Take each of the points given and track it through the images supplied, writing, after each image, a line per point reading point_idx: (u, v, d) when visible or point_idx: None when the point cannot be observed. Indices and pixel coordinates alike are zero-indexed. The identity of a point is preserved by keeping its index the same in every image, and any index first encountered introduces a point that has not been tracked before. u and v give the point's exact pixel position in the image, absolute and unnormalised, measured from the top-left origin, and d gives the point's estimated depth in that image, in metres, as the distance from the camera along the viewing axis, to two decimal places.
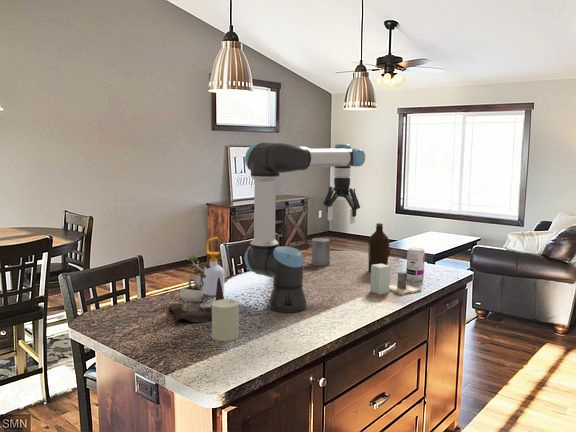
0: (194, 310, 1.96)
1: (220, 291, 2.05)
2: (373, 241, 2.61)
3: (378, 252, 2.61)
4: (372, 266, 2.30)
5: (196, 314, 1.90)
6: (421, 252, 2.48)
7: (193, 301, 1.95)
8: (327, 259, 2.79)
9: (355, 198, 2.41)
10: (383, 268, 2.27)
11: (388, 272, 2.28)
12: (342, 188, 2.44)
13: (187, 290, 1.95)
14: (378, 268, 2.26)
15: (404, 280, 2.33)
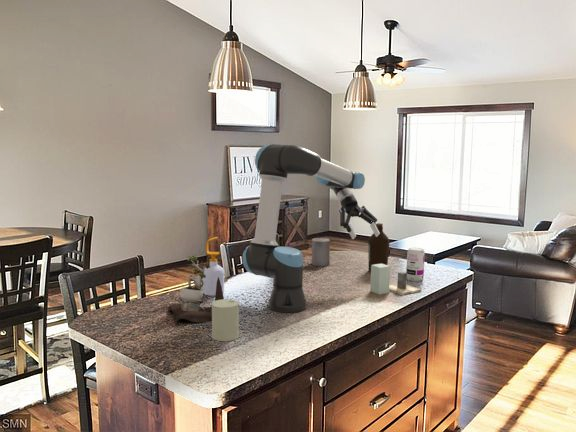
0: (194, 310, 1.96)
1: (220, 291, 2.05)
2: (373, 241, 2.61)
3: (378, 252, 2.61)
4: (372, 266, 2.30)
5: (196, 314, 1.90)
6: (421, 252, 2.48)
7: (193, 301, 1.95)
8: (327, 259, 2.79)
9: None
10: (383, 268, 2.27)
11: (388, 272, 2.28)
12: (355, 207, 2.45)
13: (187, 290, 1.95)
14: (378, 268, 2.26)
15: (404, 280, 2.33)
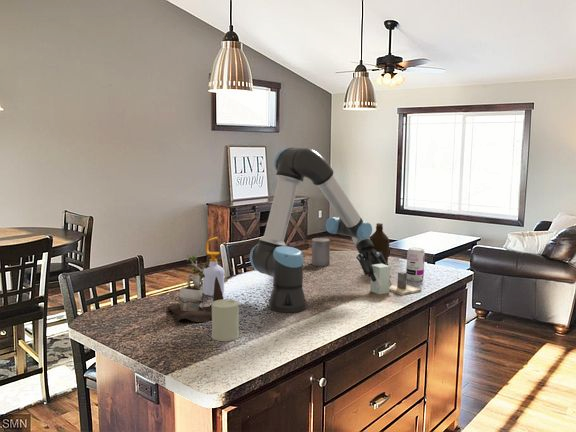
0: (194, 310, 1.97)
1: (218, 290, 2.05)
2: (373, 241, 2.61)
3: None
4: (372, 266, 2.30)
5: (197, 314, 1.90)
6: (421, 252, 2.48)
7: (193, 301, 1.95)
8: (327, 259, 2.79)
9: None
10: (383, 268, 2.27)
11: (388, 272, 2.28)
12: (371, 249, 2.37)
13: (187, 290, 1.95)
14: (378, 268, 2.26)
15: (404, 280, 2.33)
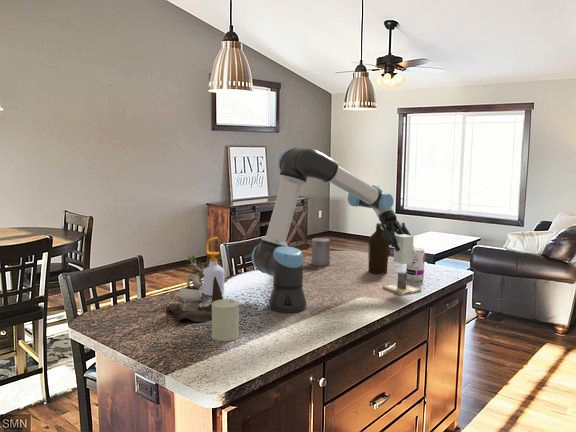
0: (194, 310, 1.97)
1: (217, 290, 2.06)
2: (373, 241, 2.61)
3: (378, 252, 2.61)
4: (395, 236, 2.32)
5: (197, 313, 1.91)
6: (421, 252, 2.48)
7: (193, 301, 1.95)
8: (327, 259, 2.79)
9: None
10: (407, 238, 2.28)
11: (412, 242, 2.30)
12: (393, 220, 2.39)
13: (187, 290, 1.95)
14: (402, 238, 2.28)
15: (404, 280, 2.33)
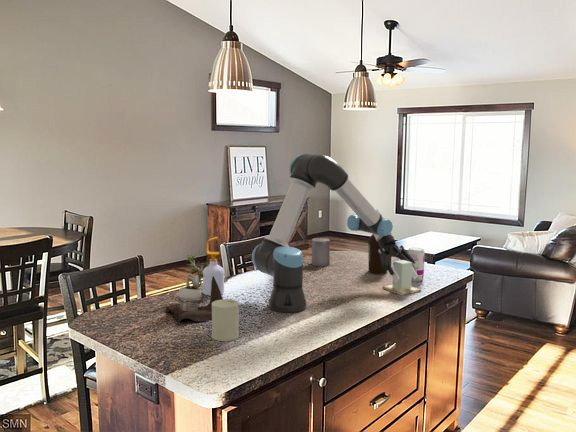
0: (193, 309, 1.97)
1: (216, 290, 2.06)
2: (373, 241, 2.61)
3: None
4: (394, 262, 2.33)
5: (198, 313, 1.91)
6: (421, 252, 2.48)
7: (193, 300, 1.95)
8: (327, 259, 2.79)
9: None
10: (405, 264, 2.30)
11: (410, 268, 2.32)
12: (393, 245, 2.40)
13: (186, 290, 1.95)
14: (401, 264, 2.30)
15: None
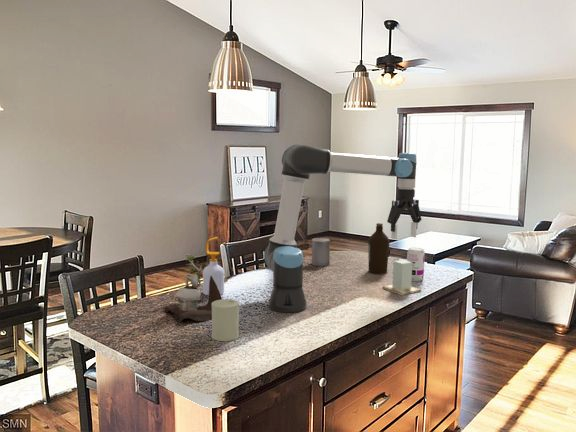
0: (193, 309, 1.97)
1: (215, 289, 2.07)
2: (373, 241, 2.61)
3: (378, 252, 2.61)
4: (394, 262, 2.33)
5: (198, 313, 1.91)
6: (421, 252, 2.48)
7: (193, 300, 1.96)
8: (327, 259, 2.79)
9: None
10: (405, 264, 2.30)
11: (410, 268, 2.32)
12: (409, 199, 2.29)
13: (186, 290, 1.95)
14: (401, 264, 2.30)
15: None
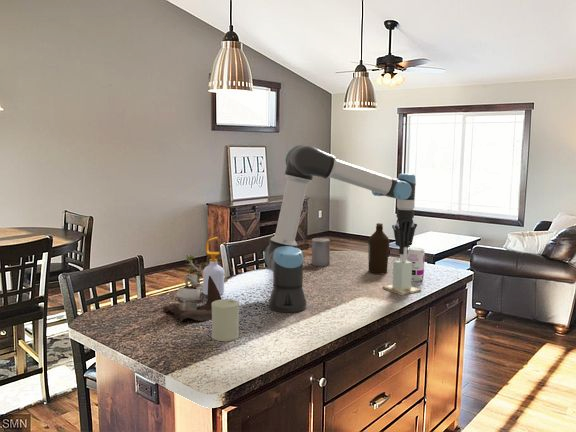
0: (193, 309, 1.97)
1: (214, 289, 2.07)
2: (373, 241, 2.61)
3: (378, 252, 2.61)
4: (394, 262, 2.33)
5: (199, 313, 1.92)
6: (421, 252, 2.48)
7: (192, 300, 1.96)
8: (327, 259, 2.79)
9: None
10: (405, 264, 2.30)
11: (411, 268, 2.32)
12: None
13: (186, 290, 1.95)
14: (401, 264, 2.30)
15: None
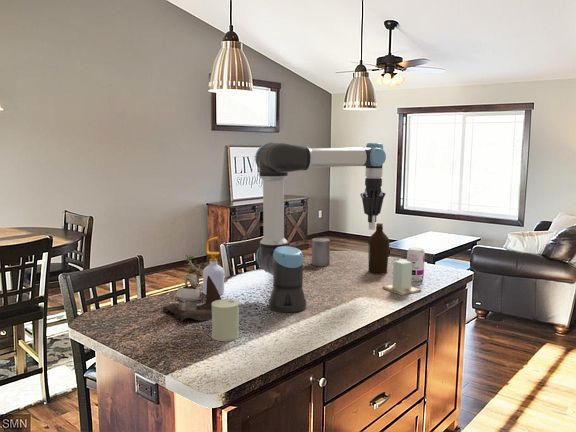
0: (193, 309, 1.98)
1: (213, 289, 2.08)
2: (373, 241, 2.61)
3: (378, 252, 2.61)
4: (394, 262, 2.33)
5: (199, 312, 1.92)
6: (421, 252, 2.48)
7: (192, 300, 1.96)
8: (327, 259, 2.79)
9: None
10: (405, 264, 2.30)
11: (410, 268, 2.32)
12: (378, 186, 2.34)
13: (186, 289, 1.96)
14: (401, 264, 2.30)
15: None
